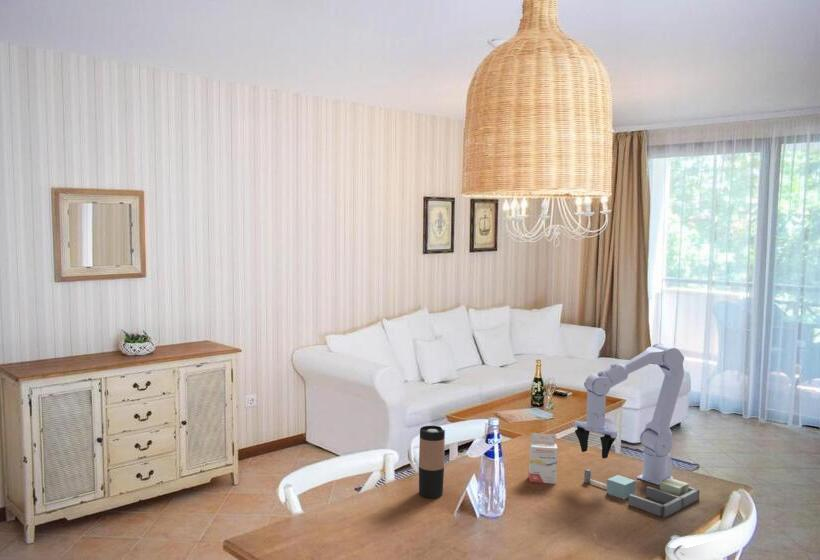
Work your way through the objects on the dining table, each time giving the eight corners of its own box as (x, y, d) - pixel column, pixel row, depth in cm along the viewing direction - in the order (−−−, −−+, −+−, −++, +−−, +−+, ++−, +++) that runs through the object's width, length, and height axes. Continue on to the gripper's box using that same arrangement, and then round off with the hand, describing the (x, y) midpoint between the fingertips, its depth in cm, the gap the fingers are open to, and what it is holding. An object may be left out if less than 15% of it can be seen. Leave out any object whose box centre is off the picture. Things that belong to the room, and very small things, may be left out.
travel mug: (414, 496, 199) (415, 430, 197) (423, 487, 206) (425, 424, 205) (438, 500, 196) (440, 434, 195) (446, 491, 203) (448, 427, 202)
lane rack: (664, 488, 210) (664, 478, 209) (698, 499, 201) (699, 489, 201) (628, 504, 196) (628, 494, 196) (664, 517, 188) (664, 507, 187)
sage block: (669, 493, 206) (670, 477, 205) (687, 499, 201) (688, 483, 201) (659, 498, 202) (660, 482, 201) (678, 504, 197) (678, 488, 197)
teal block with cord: (590, 479, 216) (590, 465, 215) (634, 494, 204) (635, 480, 203) (579, 483, 212) (579, 469, 212) (624, 499, 200) (624, 485, 200)
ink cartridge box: (529, 482, 212) (531, 437, 211) (528, 476, 217) (529, 432, 216) (556, 484, 211) (558, 438, 210) (554, 478, 216) (556, 434, 215)
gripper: (569, 409, 214) (568, 451, 215) (608, 420, 203) (607, 463, 204) (582, 406, 219) (580, 446, 220) (621, 416, 208) (619, 458, 209)
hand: (594, 454), depth 212 cm, fingers open, 7 cm apart
